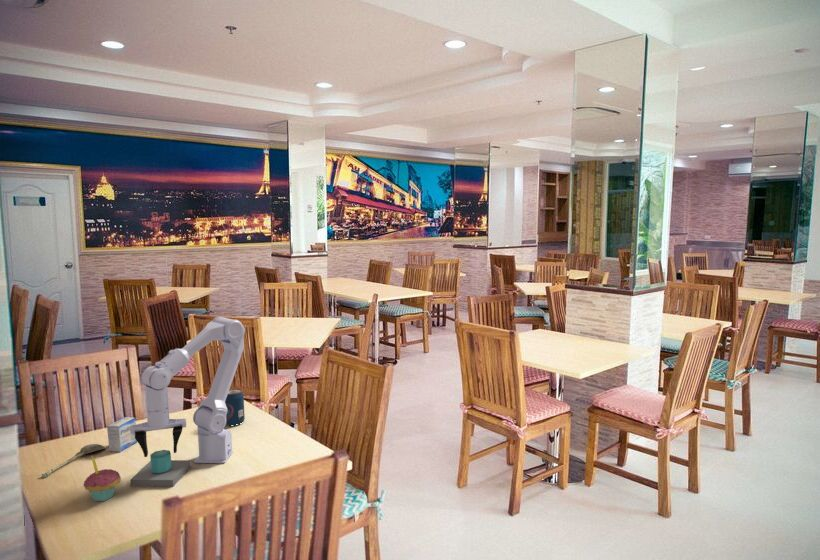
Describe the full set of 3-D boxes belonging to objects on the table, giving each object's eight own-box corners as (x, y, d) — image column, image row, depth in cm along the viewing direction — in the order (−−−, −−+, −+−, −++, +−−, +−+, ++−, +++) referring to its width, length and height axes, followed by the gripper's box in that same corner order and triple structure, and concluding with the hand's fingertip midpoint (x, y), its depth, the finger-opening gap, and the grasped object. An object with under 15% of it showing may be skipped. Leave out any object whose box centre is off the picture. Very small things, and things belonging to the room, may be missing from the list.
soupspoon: (111, 450, 178) (94, 449, 179) (110, 440, 178) (93, 439, 179) (52, 480, 157) (34, 478, 158) (51, 468, 156) (33, 467, 158)
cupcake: (83, 507, 141) (79, 464, 140) (87, 492, 149) (84, 450, 147) (120, 500, 145) (117, 457, 143) (123, 486, 152) (120, 445, 151)
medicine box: (120, 452, 174) (118, 426, 173) (108, 451, 175) (106, 425, 174) (137, 442, 181) (136, 417, 180) (126, 441, 182) (124, 416, 181)
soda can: (220, 424, 196) (219, 392, 195) (235, 418, 202) (234, 387, 201) (233, 428, 193) (232, 395, 191) (248, 421, 199) (247, 390, 197)
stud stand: (191, 466, 164) (189, 447, 163) (173, 486, 152) (172, 466, 151) (151, 466, 164) (150, 447, 163) (130, 486, 152) (129, 466, 151)
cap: (170, 463, 161) (169, 448, 161) (172, 470, 157) (171, 455, 156) (150, 467, 159) (149, 452, 158) (152, 474, 154) (151, 459, 154)
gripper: (185, 400, 162) (188, 444, 163) (131, 406, 157) (134, 451, 158) (184, 408, 155) (187, 454, 157) (127, 415, 150) (131, 462, 152)
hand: (160, 453), depth 157 cm, fingers open, 7 cm apart
